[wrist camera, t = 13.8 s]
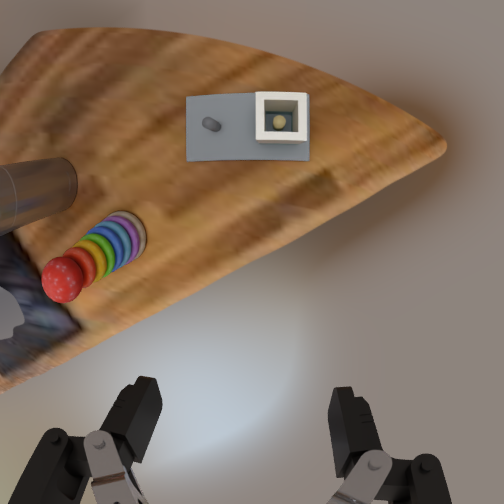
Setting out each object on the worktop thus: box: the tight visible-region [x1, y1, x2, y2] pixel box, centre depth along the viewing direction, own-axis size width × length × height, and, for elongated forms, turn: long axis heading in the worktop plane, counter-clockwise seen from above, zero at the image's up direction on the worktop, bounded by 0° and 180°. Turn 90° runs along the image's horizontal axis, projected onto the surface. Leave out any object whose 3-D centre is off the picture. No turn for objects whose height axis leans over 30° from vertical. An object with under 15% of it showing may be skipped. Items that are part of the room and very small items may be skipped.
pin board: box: [186, 93, 309, 162], centre depth 33 cm, size 16×9×6 cm, turn 90°
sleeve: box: [256, 92, 307, 145], centre depth 30 cm, size 5×5×10 cm
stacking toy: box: [42, 211, 146, 303], centre depth 33 cm, size 8×8×19 cm
